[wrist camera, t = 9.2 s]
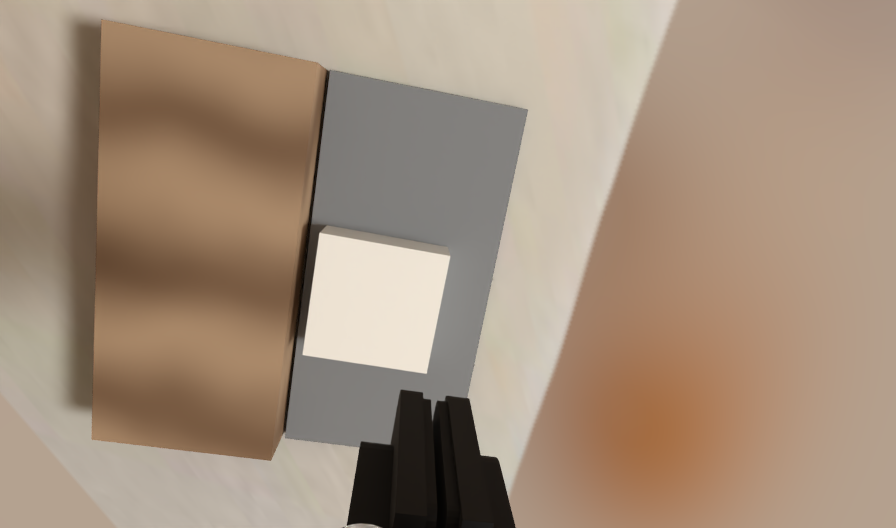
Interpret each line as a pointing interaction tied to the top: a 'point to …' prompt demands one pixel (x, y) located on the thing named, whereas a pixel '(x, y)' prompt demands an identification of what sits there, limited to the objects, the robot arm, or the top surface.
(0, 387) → the top surface
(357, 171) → the mat
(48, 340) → the top surface
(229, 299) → the board
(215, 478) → the top surface
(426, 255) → the block
